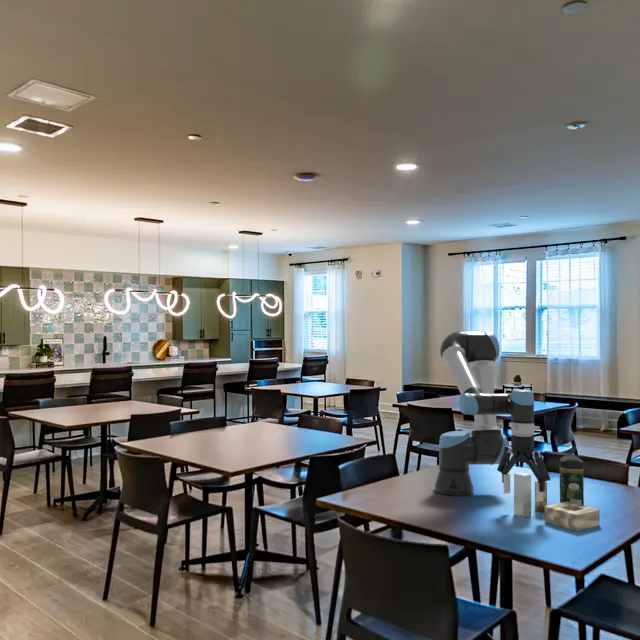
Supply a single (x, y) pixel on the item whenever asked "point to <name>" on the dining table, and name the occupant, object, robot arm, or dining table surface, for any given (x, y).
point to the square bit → (522, 494)
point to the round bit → (541, 505)
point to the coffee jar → (571, 480)
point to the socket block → (572, 516)
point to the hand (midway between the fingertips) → (522, 497)
